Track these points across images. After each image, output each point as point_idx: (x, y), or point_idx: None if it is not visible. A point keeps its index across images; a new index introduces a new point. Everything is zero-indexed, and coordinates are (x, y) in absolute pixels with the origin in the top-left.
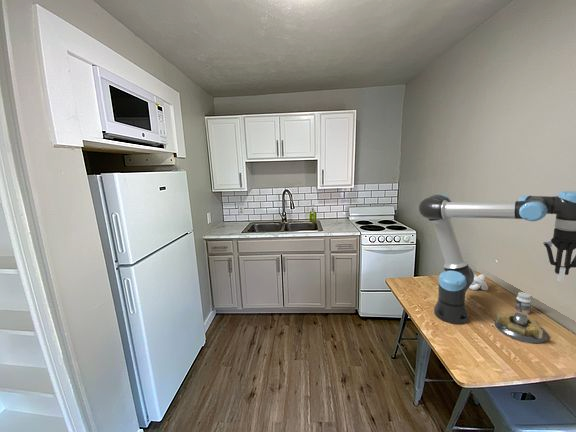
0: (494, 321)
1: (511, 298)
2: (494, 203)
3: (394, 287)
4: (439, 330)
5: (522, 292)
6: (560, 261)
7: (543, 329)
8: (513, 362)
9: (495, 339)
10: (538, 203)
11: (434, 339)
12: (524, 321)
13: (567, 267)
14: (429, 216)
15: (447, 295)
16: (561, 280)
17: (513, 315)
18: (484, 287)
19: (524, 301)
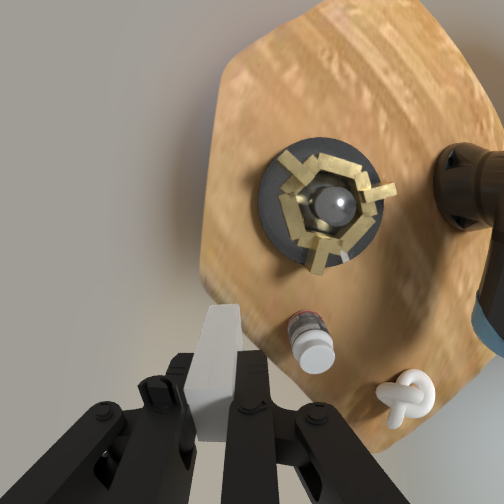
0: (383, 200)
1: (321, 382)
2: None
3: None
4: (467, 102)
5: (320, 371)
6: (235, 464)
7: (264, 228)
8: (330, 42)
9: (373, 115)
10: None
11: (462, 65)
12: (324, 189)
13: (163, 389)
14: None
15: None
16: (221, 311)
17: (346, 235)
18: (390, 383)
19: (313, 332)
